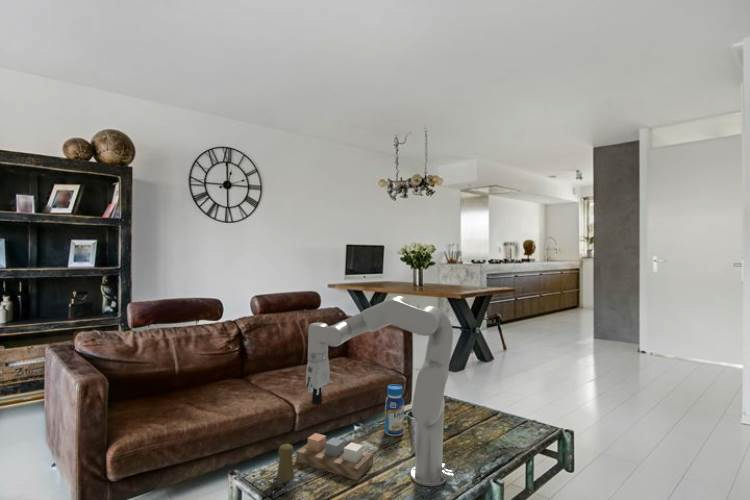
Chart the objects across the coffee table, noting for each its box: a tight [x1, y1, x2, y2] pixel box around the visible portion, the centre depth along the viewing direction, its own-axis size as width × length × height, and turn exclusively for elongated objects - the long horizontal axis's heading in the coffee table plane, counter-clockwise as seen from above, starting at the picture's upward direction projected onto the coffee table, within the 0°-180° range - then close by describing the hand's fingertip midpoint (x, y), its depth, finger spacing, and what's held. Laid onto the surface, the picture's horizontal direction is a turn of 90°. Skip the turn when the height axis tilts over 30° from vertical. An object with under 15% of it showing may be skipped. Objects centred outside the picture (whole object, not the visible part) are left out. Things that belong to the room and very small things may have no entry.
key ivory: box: [344, 442, 364, 464], centre depth 156 cm, size 5×5×5 cm
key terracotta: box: [307, 432, 327, 453], centre depth 163 cm, size 5×5×5 cm
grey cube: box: [325, 437, 345, 458], centre depth 159 cm, size 5×5×5 cm
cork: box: [276, 443, 295, 483], centre depth 150 cm, size 6×6×11 cm
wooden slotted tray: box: [295, 440, 374, 481], centre depth 160 cm, size 26×12×4 cm, turn 63°
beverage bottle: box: [384, 383, 405, 437], centre depth 186 cm, size 8×8×20 cm
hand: (316, 403), depth 163 cm, fingers closed
